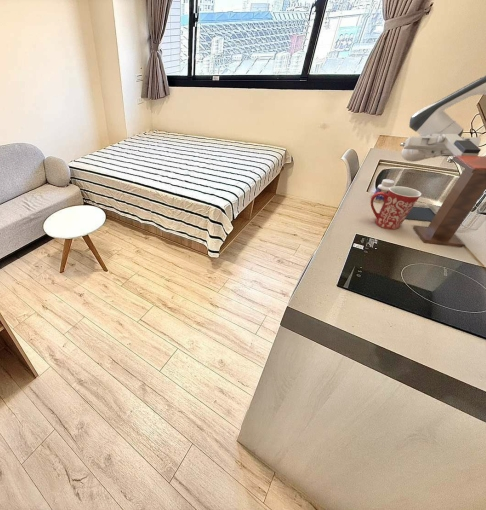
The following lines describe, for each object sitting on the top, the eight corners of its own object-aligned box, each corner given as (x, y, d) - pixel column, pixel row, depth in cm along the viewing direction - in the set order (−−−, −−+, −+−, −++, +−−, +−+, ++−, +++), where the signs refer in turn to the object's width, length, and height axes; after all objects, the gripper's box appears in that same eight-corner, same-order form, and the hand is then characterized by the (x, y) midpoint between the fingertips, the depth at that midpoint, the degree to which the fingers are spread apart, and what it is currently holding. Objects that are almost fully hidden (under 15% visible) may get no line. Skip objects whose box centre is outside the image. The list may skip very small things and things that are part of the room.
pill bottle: (375, 203, 118) (384, 183, 113) (369, 197, 122) (378, 178, 117) (389, 203, 117) (399, 183, 112) (382, 198, 121) (392, 178, 116)
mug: (401, 222, 105) (420, 188, 97) (403, 233, 99) (423, 198, 91) (362, 214, 111) (376, 182, 103) (361, 224, 105) (376, 191, 97)
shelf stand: (446, 230, 98) (496, 156, 83) (463, 249, 90) (523, 170, 74) (411, 226, 102) (454, 155, 86) (424, 244, 93) (474, 167, 77)
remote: (453, 139, 99) (459, 130, 97) (474, 159, 86) (481, 149, 84) (438, 139, 100) (444, 130, 98) (458, 159, 88) (464, 149, 86)
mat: (429, 208, 112) (429, 207, 111) (442, 222, 103) (443, 222, 102) (393, 205, 115) (393, 204, 115) (403, 219, 106) (403, 218, 106)
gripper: (400, 137, 111) (417, 129, 99) (466, 138, 104) (495, 129, 92) (395, 153, 113) (412, 147, 100) (461, 155, 106) (488, 149, 93)
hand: (452, 139), depth 96 cm, fingers closed on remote, 4 cm apart
